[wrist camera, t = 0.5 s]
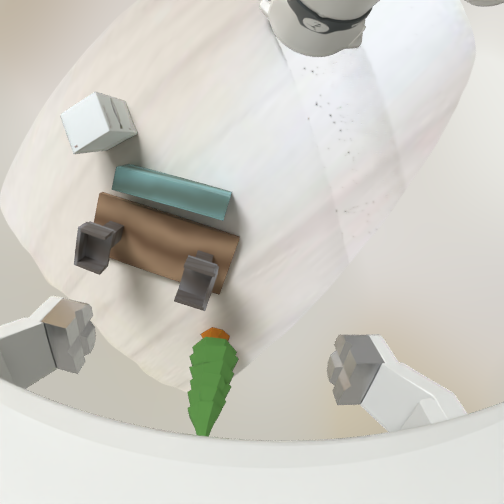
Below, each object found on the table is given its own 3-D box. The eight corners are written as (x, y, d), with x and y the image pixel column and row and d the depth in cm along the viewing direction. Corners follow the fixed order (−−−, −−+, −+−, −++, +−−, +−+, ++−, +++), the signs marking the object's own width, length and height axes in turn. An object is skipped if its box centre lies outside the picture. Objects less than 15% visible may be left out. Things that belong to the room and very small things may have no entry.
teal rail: (128, 163, 50) (116, 166, 45) (231, 191, 53) (230, 197, 47) (124, 184, 51) (111, 189, 46) (225, 212, 54) (223, 220, 49)
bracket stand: (102, 191, 51) (68, 206, 39) (239, 236, 56) (238, 263, 43) (92, 247, 55) (61, 273, 43) (219, 291, 59) (214, 328, 47)
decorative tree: (216, 314, 61) (202, 432, 33) (247, 340, 64) (252, 457, 36) (186, 339, 63) (161, 452, 35) (217, 362, 66) (208, 474, 38)
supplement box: (139, 133, 48) (110, 132, 36) (106, 151, 49) (72, 155, 37) (126, 99, 46) (95, 90, 34) (93, 118, 46) (58, 115, 34)
